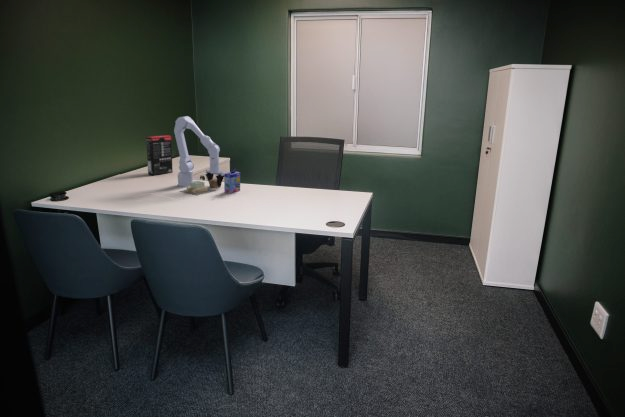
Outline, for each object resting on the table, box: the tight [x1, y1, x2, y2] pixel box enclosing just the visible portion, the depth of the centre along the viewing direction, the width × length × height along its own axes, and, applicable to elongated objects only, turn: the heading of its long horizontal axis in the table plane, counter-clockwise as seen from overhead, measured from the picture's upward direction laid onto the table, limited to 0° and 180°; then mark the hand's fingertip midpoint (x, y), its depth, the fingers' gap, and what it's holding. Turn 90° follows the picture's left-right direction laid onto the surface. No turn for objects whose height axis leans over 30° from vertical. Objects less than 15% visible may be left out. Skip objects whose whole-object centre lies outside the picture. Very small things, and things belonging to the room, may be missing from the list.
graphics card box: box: [145, 134, 174, 176], centre depth 319 cm, size 17×7×27 cm, turn 144°
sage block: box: [190, 180, 205, 189], centre depth 272 cm, size 6×6×3 cm
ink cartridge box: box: [223, 168, 241, 195], centre depth 273 cm, size 10×6×14 cm, turn 152°
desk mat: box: [178, 188, 216, 196], centre depth 274 cm, size 16×16×1 cm
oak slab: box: [186, 185, 209, 193], centre depth 273 cm, size 9×9×2 cm
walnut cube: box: [208, 178, 222, 189], centre depth 285 cm, size 5×5×5 cm
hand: (215, 185), depth 285 cm, fingers open, 7 cm apart
